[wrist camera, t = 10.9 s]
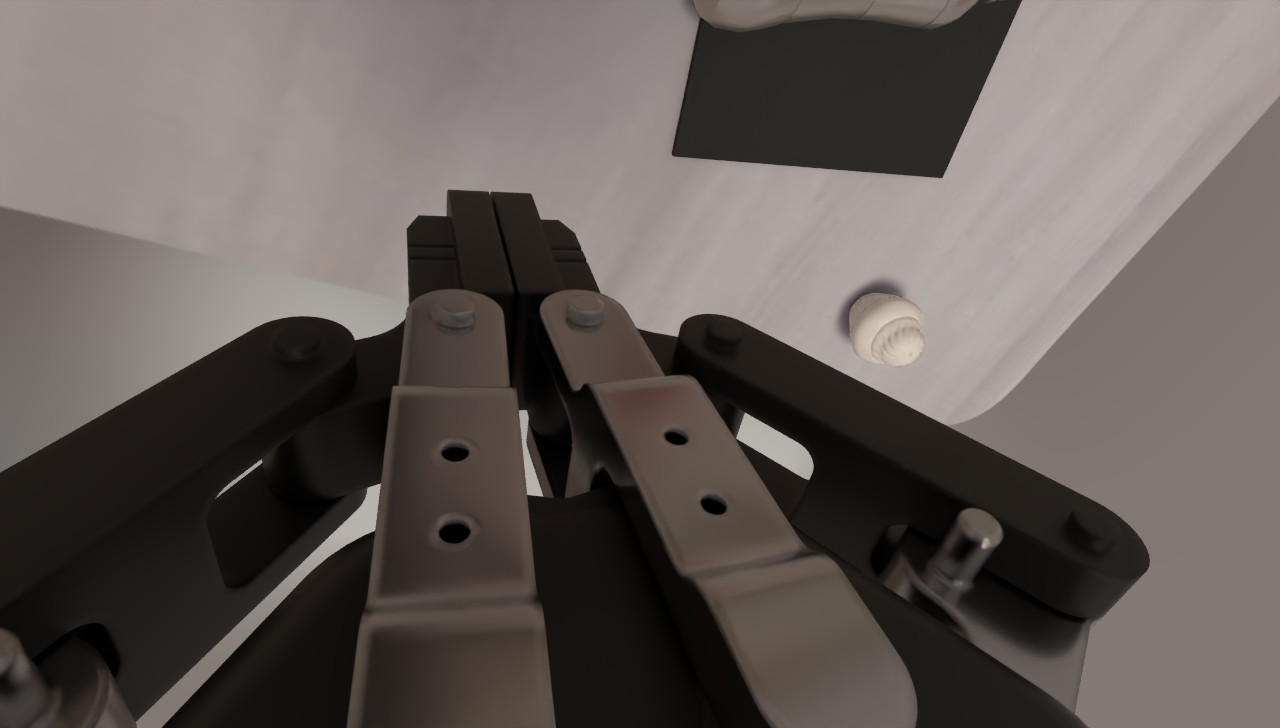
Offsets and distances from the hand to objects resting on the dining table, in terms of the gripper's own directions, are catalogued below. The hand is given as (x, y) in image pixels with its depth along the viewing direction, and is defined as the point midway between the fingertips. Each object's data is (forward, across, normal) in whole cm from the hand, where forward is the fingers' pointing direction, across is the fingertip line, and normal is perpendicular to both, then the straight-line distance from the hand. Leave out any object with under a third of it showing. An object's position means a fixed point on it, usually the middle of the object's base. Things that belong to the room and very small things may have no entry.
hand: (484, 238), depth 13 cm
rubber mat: (+30, -27, +2) cm, 41 cm away
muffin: (+31, -36, +22) cm, 52 cm away
